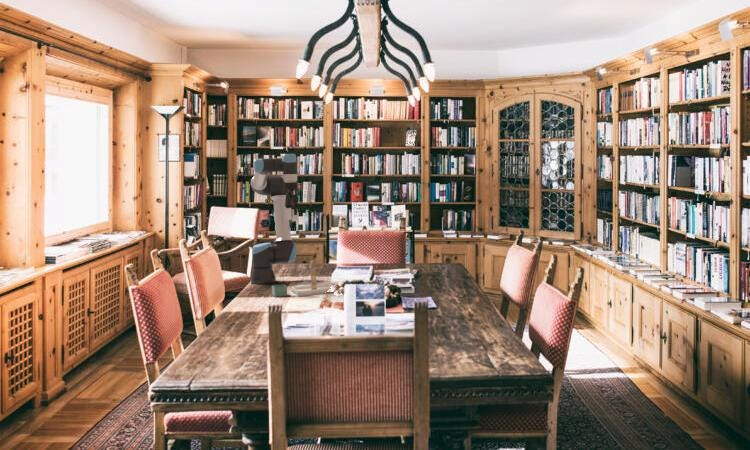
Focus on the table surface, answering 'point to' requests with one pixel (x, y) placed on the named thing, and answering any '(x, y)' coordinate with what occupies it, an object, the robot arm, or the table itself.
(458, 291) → the table surface
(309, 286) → the tray
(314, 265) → the dowel
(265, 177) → the robot arm
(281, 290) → the pen cup
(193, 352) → the table surface
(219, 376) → the table surface
